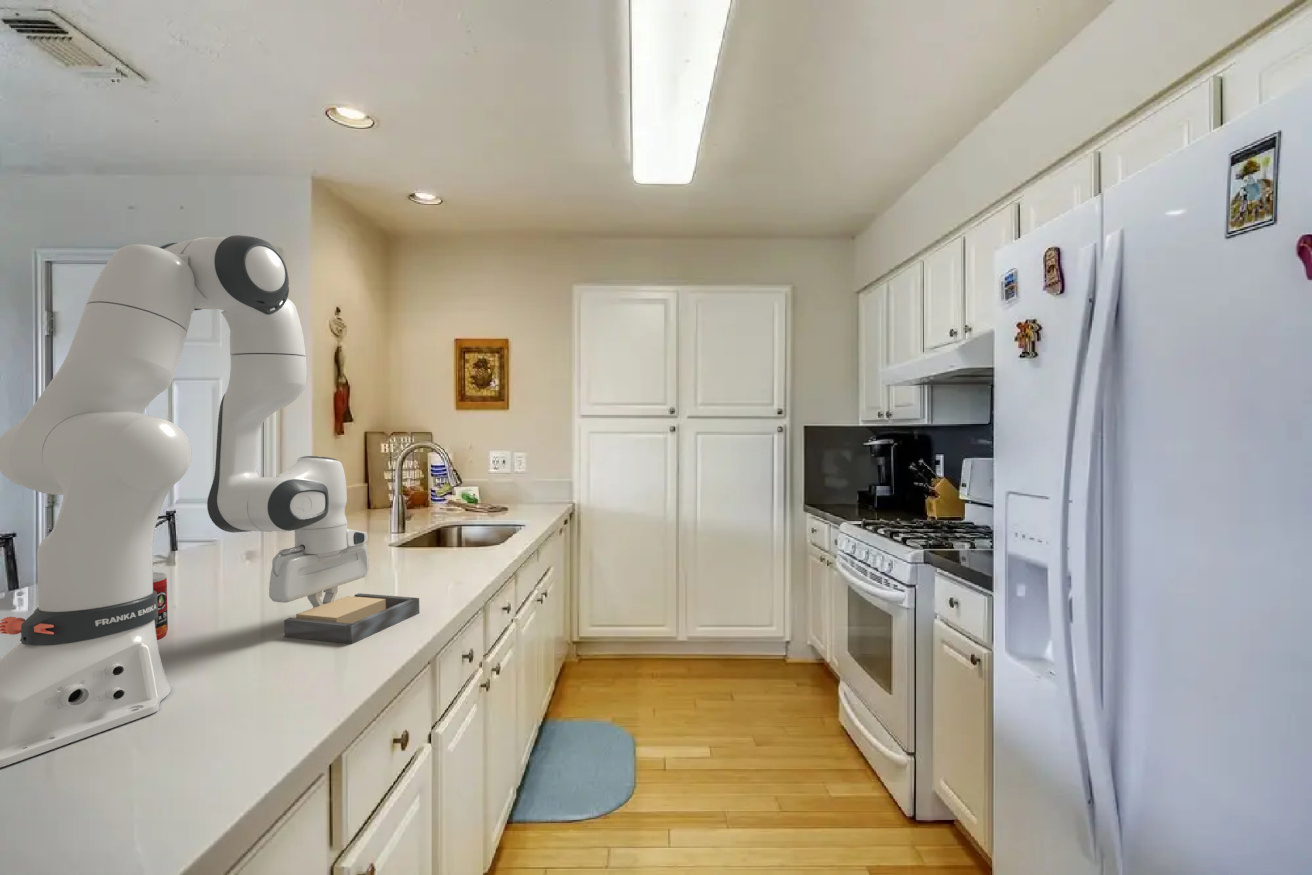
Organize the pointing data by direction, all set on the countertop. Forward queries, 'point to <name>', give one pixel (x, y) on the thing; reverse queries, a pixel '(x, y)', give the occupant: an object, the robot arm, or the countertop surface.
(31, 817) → the countertop surface
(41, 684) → the robot arm
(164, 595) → the canned food
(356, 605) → the carton
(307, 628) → the dark grey piece
